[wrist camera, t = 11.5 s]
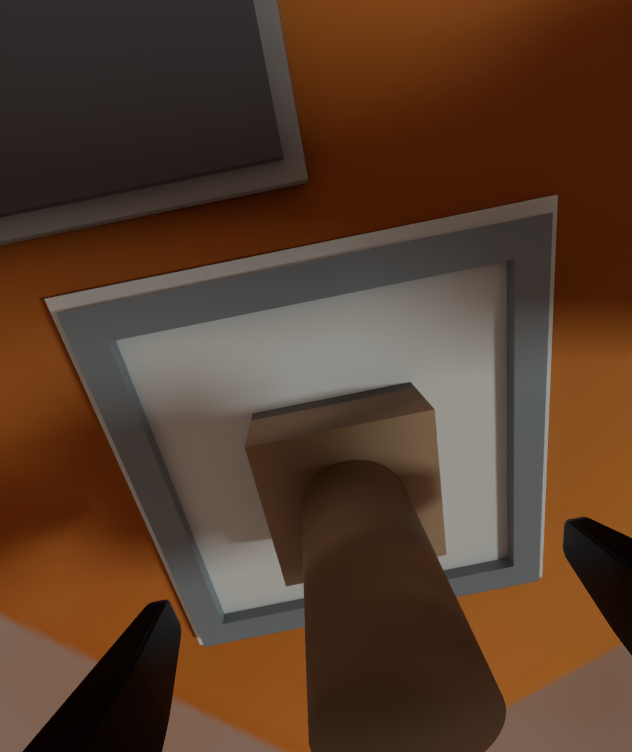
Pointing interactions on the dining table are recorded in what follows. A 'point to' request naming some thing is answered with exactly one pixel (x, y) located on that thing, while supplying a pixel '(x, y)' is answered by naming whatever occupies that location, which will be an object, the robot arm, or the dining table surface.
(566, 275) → the dining table surface
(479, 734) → the stamp
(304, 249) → the print sheet
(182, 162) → the ink pad
